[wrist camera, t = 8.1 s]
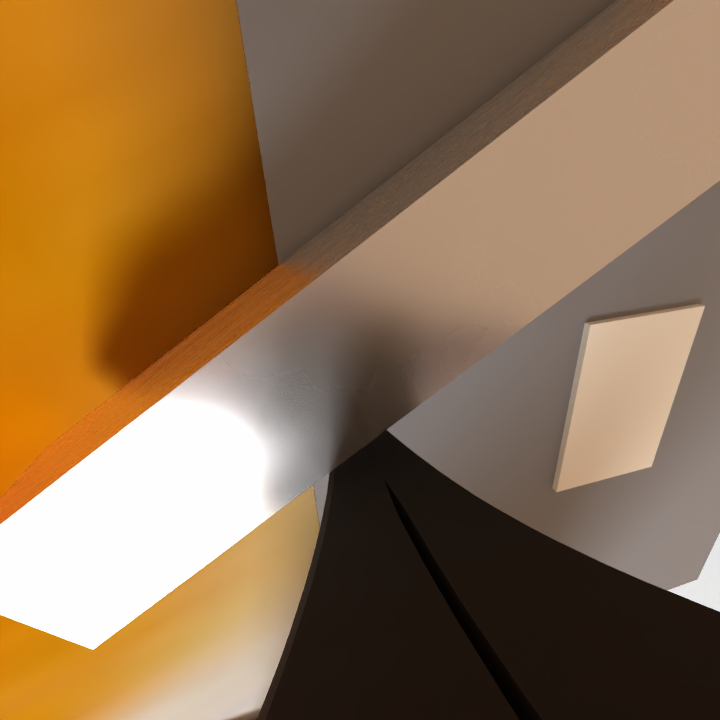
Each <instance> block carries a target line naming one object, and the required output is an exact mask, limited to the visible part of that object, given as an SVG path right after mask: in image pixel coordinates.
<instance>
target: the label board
mask: <svg viewBox="0 0 720 720" xmlns="http://www.w3.org/2000/svg"><path fill="white" fill-rule="evenodd" d="M615 1H616V0H236V4H237V10H238V17H239V23H240V29H241V36H242V42H243V48H244V54H245V61H246V67H247V73H248V80H249V86H250V92H251V98H252V105H253V111H254V117H255V123H256V130H257V136H258V142H259V149H260V155H261V161H262V167H263V174H264V180H265V186H266V192H267V199H268V205H269V211H270V218H271V224H272V230H273V236H274V243H275V249H276V255H277V262H278V265H280V264H281V263H282V262H283V261H285V260H286V259H287V258H288V257H290V256H291V255H292V254H294V253H295V252H296V251H297V250H299V249H300V248H301V247H303V246H304V245H305V244H306V243H308V242H309V241H310V240H311V239H313V238H314V237H315V236H317V235H318V234H319V233H320V232H322V231H323V230H324V229H325V228H327V227H328V226H329V225H331V224H332V223H333V222H334V221H336V220H337V219H338V218H339V217H341V216H342V215H343V214H345V213H346V212H347V211H348V210H350V209H351V208H352V207H353V206H355V205H356V204H357V203H359V202H360V201H361V200H362V199H364V198H365V197H366V196H367V195H369V194H370V193H371V192H373V191H374V190H375V189H376V188H378V187H379V186H380V185H382V184H383V183H384V182H385V181H387V180H388V179H389V178H390V177H392V176H393V175H394V174H396V173H397V172H398V171H399V170H401V169H402V168H403V167H404V166H406V165H407V164H408V163H410V162H411V161H412V160H413V159H415V158H416V157H417V156H418V155H420V154H421V153H422V152H424V151H425V150H426V149H427V148H429V147H430V146H431V145H432V144H434V143H435V142H436V141H438V140H439V139H440V138H441V137H443V136H444V135H445V134H446V133H448V132H449V131H450V130H452V129H453V128H454V127H455V126H457V125H458V124H459V123H461V122H462V121H463V120H464V119H466V118H467V117H468V116H469V115H471V114H472V113H473V112H475V111H476V110H477V109H478V108H480V107H481V106H482V105H483V104H485V103H486V102H487V101H489V100H490V99H491V98H492V97H494V96H495V95H496V94H497V93H499V92H500V91H501V90H503V89H504V88H505V87H506V86H508V85H509V84H510V83H511V82H513V81H514V80H515V79H517V78H518V77H519V76H520V75H522V74H523V73H524V72H525V71H527V70H528V69H529V68H531V67H532V66H533V65H534V64H536V63H537V62H538V61H539V60H541V59H542V58H543V57H545V56H546V55H547V54H548V53H550V52H551V51H552V50H554V49H555V48H556V47H557V46H559V45H560V44H561V43H562V42H564V41H565V40H566V39H568V38H569V37H570V36H571V35H573V34H574V33H575V32H576V31H578V30H579V29H580V28H582V27H583V26H584V25H585V24H587V23H588V22H589V21H590V20H592V19H593V18H594V17H596V16H597V15H598V14H599V13H601V12H602V11H603V10H604V9H606V8H607V7H608V6H610V5H611V4H612V3H613V2H615ZM387 430H388V431H389V432H390V433H391V434H392V435H394V436H395V437H396V438H397V439H398V440H400V441H401V442H402V443H403V444H405V445H406V446H407V447H408V448H409V449H411V450H412V451H413V452H415V453H416V454H417V455H418V456H420V457H421V458H422V459H424V460H425V461H426V462H428V463H429V464H431V465H432V466H433V467H435V468H436V469H437V470H439V471H440V472H441V473H443V474H444V475H446V476H447V477H448V478H450V479H451V480H453V481H454V482H456V483H457V484H459V485H460V486H462V487H463V488H465V489H466V490H468V491H469V492H471V493H472V494H474V495H475V496H477V497H479V498H480V499H482V500H484V501H485V502H487V503H488V504H490V505H492V506H493V507H495V508H497V509H499V510H501V511H502V512H504V513H506V514H508V515H509V516H511V517H513V518H515V519H517V520H518V521H520V522H522V523H524V524H525V525H527V526H529V527H531V528H533V529H535V530H537V531H539V532H541V533H542V534H544V535H546V536H548V537H550V538H552V539H554V540H556V541H558V542H560V543H562V544H565V545H567V546H569V547H571V548H573V549H575V550H577V551H579V552H581V553H583V554H585V555H587V556H590V557H592V558H594V559H596V560H598V561H600V562H602V563H604V564H606V565H609V566H611V567H613V568H615V569H618V570H620V571H622V572H625V573H627V574H629V575H631V576H634V577H636V578H638V579H640V580H643V581H645V582H647V583H650V584H652V585H655V586H657V587H660V588H662V589H665V590H669V589H672V588H674V587H677V586H680V585H683V584H686V583H688V582H691V581H694V580H697V579H698V577H699V575H700V573H701V570H702V568H703V566H704V564H705V562H706V560H707V558H708V556H709V554H710V552H711V549H712V547H713V545H714V543H715V541H716V539H717V537H718V535H719V533H720V181H718V182H717V183H716V184H714V185H713V186H712V187H710V188H709V189H708V190H706V191H705V192H704V193H702V194H701V195H700V196H698V197H697V198H696V199H694V200H693V201H692V202H690V203H689V204H688V205H686V206H685V207H684V208H682V209H681V210H680V211H678V212H677V213H676V214H674V215H673V216H672V217H670V218H669V219H668V220H666V221H665V222H664V223H662V224H661V225H660V226H658V227H657V228H656V229H654V230H653V231H652V232H650V233H649V234H648V235H646V236H645V237H644V238H642V239H641V240H640V241H638V242H637V243H635V244H634V245H633V246H631V247H630V248H629V249H627V250H626V251H625V252H623V253H622V254H621V255H619V256H618V257H617V258H615V259H614V260H613V261H611V262H610V263H609V264H607V265H606V266H605V267H603V268H602V269H601V270H599V271H598V272H597V273H595V274H594V275H593V276H591V277H590V278H589V279H587V280H586V281H585V282H583V283H582V284H581V285H579V286H578V287H577V288H575V289H574V290H573V291H571V292H570V293H569V294H567V295H566V296H565V297H563V298H562V299H561V300H559V301H558V302H557V303H555V304H554V305H553V306H551V307H550V308H549V309H547V310H546V311H545V312H543V313H542V314H541V315H539V316H538V317H537V318H535V319H534V320H533V321H531V322H530V323H529V324H527V325H526V326H525V327H523V328H522V329H520V330H519V331H518V332H516V333H515V334H514V335H512V336H511V337H510V338H508V339H507V340H506V341H504V342H503V343H502V344H500V345H499V346H498V347H496V348H495V349H494V350H492V351H491V352H490V353H488V354H487V355H486V356H484V357H483V358H482V359H480V360H479V361H478V362H476V363H475V364H474V365H472V366H471V367H470V368H468V369H467V370H466V371H464V372H463V373H462V374H460V375H459V376H458V377H456V378H455V379H454V380H452V381H451V382H450V383H448V384H447V385H446V386H444V387H443V388H442V389H440V390H439V391H438V392H436V393H435V394H434V395H432V396H431V397H430V398H428V399H427V400H426V401H424V402H423V403H422V404H420V405H419V406H418V407H416V408H415V409H414V410H412V411H411V412H410V413H408V414H407V415H406V416H404V417H403V418H401V419H400V420H399V421H397V422H396V423H395V424H393V425H392V426H391V427H389V428H388V429H387ZM328 480H329V473H328V474H327V475H325V476H324V477H323V478H321V479H320V480H319V481H317V482H316V483H315V484H313V487H314V494H315V500H316V506H317V513H318V519H319V525H320V526H321V521H322V516H323V511H324V506H325V501H326V495H327V488H328Z"/></svg>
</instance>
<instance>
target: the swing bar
mask: <svg viewBox="0 0 720 720" xmlns="http://www.w3.org/2000/svg"><path fill="white" fill-rule="evenodd" d="M718 181H720V0H616V1H615V2H613V3H612V4H611V5H610V6H608V7H607V8H606V9H604V10H603V11H602V12H601V13H599V14H598V15H597V16H596V17H594V18H593V19H592V20H590V21H589V22H588V23H587V24H585V25H584V26H583V27H582V28H580V29H579V30H578V31H576V32H575V33H574V34H573V35H571V36H570V37H569V38H568V39H566V40H565V41H564V42H562V43H561V44H560V45H559V46H557V47H556V48H555V49H554V50H552V51H551V52H550V53H548V54H547V55H546V56H545V57H543V58H542V59H541V60H539V61H538V62H537V63H536V64H534V65H533V66H532V67H531V68H529V69H528V70H527V71H525V72H524V73H523V74H522V75H520V76H519V77H518V78H517V79H515V80H514V81H513V82H511V83H510V84H509V85H508V86H506V87H505V88H504V89H503V90H501V91H500V92H499V93H497V94H496V95H495V96H494V97H492V98H491V99H490V100H489V101H487V102H486V103H485V104H483V105H482V106H481V107H480V108H478V109H477V110H476V111H475V112H473V113H472V114H471V115H469V116H468V117H467V118H466V119H464V120H463V121H462V122H461V123H459V124H458V125H457V126H455V127H454V128H453V129H452V130H450V131H449V132H448V133H446V134H445V135H444V136H443V137H441V138H440V139H439V140H438V141H436V142H435V143H434V144H432V145H431V146H430V147H429V148H427V149H426V150H425V151H424V152H422V153H421V154H420V155H418V156H417V157H416V158H415V159H413V160H412V161H411V162H410V163H408V164H407V165H406V166H404V167H403V168H402V169H401V170H399V171H398V172H397V173H396V174H394V175H393V176H392V177H390V178H389V179H388V180H387V181H385V182H384V183H383V184H382V185H380V186H379V187H378V188H376V189H375V190H374V191H373V192H371V193H370V194H369V195H367V196H366V197H365V198H364V199H362V200H361V201H360V202H359V203H357V204H356V205H355V206H353V207H352V208H351V209H350V210H348V211H347V212H346V213H345V214H343V215H342V216H341V217H339V218H338V219H337V220H336V221H334V222H333V223H332V224H331V225H329V226H328V227H327V228H325V229H324V230H323V231H322V232H320V233H319V234H318V235H317V236H315V237H314V238H313V239H311V240H310V241H309V242H308V243H306V244H305V245H304V246H303V247H301V248H300V249H299V250H297V251H296V252H295V253H294V254H292V255H291V256H290V257H288V258H287V259H286V260H285V261H283V262H282V263H281V264H280V265H278V266H277V267H276V268H274V269H273V270H272V271H271V272H269V273H268V274H267V275H266V276H264V277H263V278H262V279H260V280H259V281H258V282H257V283H255V284H254V285H253V286H252V287H250V288H249V289H248V290H246V291H245V292H244V293H243V294H241V295H240V296H239V297H238V298H236V299H235V300H234V301H232V302H231V303H230V304H229V305H227V306H226V307H225V308H224V309H222V310H221V311H220V312H218V313H217V314H216V315H215V316H213V317H212V318H211V319H210V320H208V321H207V322H206V323H204V324H203V325H202V326H201V327H199V328H198V329H197V330H195V331H194V332H193V333H192V334H190V335H189V336H188V337H187V338H185V339H184V340H183V341H181V342H180V343H179V344H178V345H176V346H175V347H174V348H173V349H171V350H170V351H169V352H167V353H166V354H165V355H164V356H162V357H161V358H160V359H159V360H157V361H156V362H155V363H153V364H152V365H151V366H150V367H148V368H147V369H146V370H145V371H143V372H142V373H141V374H139V375H138V376H137V377H136V378H134V379H133V380H132V381H131V382H129V383H128V384H127V385H125V386H124V387H123V388H122V389H120V390H119V391H118V392H116V393H115V394H114V395H113V396H111V397H110V398H109V399H108V400H106V401H105V402H104V403H102V404H101V405H100V406H99V407H97V408H96V409H95V410H94V411H92V412H91V413H90V414H88V415H87V416H86V417H85V418H83V419H82V420H81V421H80V422H78V423H77V424H76V425H74V426H73V427H72V428H71V429H69V430H68V431H67V432H66V433H64V434H63V435H62V436H60V437H59V438H58V439H57V440H55V441H54V442H53V443H52V444H50V445H49V446H48V447H46V448H45V450H44V451H43V452H42V453H41V454H40V455H39V456H38V457H37V458H36V460H35V461H34V462H33V463H32V464H31V465H30V466H29V467H28V468H27V470H26V471H25V472H24V473H23V474H22V475H21V476H20V477H19V478H18V480H17V481H16V482H15V483H14V484H13V485H12V486H11V487H10V488H9V490H8V491H7V492H6V493H5V494H4V495H3V496H2V497H1V498H0V614H1V615H3V616H6V617H8V618H11V619H14V620H16V621H19V622H22V623H24V624H27V625H30V626H32V627H35V628H38V629H40V630H43V631H46V632H48V633H51V634H54V635H56V636H59V637H62V638H64V639H67V640H70V641H72V642H75V643H78V644H80V645H83V646H85V647H88V648H91V649H94V648H95V647H97V646H98V645H99V644H101V643H102V642H103V641H105V640H106V639H107V638H109V637H110V636H111V635H113V634H114V633H115V632H117V631H118V630H119V629H121V628H122V627H123V626H125V625H126V624H127V623H129V622H130V621H131V620H133V619H134V618H135V617H137V616H138V615H139V614H141V613H142V612H143V611H145V610H146V609H147V608H149V607H150V606H151V605H153V604H154V603H155V602H157V601H158V600H159V599H161V598H162V597H163V596H165V595H166V594H167V593H169V592H170V591H171V590H173V589H174V588H176V587H177V586H178V585H180V584H181V583H182V582H184V581H185V580H186V579H188V578H189V577H190V576H192V575H193V574H194V573H196V572H197V571H198V570H200V569H201V568H202V567H204V566H205V565H206V564H208V563H209V562H210V561H212V560H213V559H214V558H216V557H217V556H218V555H220V554H221V553H222V552H224V551H225V550H226V549H228V548H229V547H230V546H232V545H233V544H234V543H236V542H237V541H238V540H240V539H241V538H242V537H244V536H245V535H246V534H248V533H249V532H250V531H252V530H253V529H254V528H256V527H257V526H258V525H260V524H261V523H262V522H264V521H265V520H266V519H268V518H269V517H270V516H272V515H273V514H274V513H276V512H277V511H278V510H280V509H281V508H282V507H284V506H285V505H286V504H288V503H289V502H291V501H292V500H293V499H295V498H296V497H297V496H299V495H300V494H301V493H303V492H304V491H305V490H307V489H308V488H309V487H311V486H312V485H313V484H315V483H316V482H317V481H319V480H320V479H321V478H323V477H324V476H325V475H327V474H328V473H329V472H331V471H332V470H333V469H335V468H336V467H337V466H339V465H340V464H341V463H343V462H344V461H345V460H347V459H348V458H349V457H351V456H352V455H353V454H355V453H356V452H357V451H359V450H360V449H361V448H363V447H364V446H365V445H367V444H368V443H369V442H371V441H372V440H373V439H375V438H376V437H377V436H379V435H380V434H381V433H383V432H384V431H385V430H387V429H388V428H389V427H391V426H392V425H393V424H395V423H396V422H397V421H399V420H400V419H401V418H403V417H404V416H406V415H407V414H408V413H410V412H411V411H412V410H414V409H415V408H416V407H418V406H419V405H420V404H422V403H423V402H424V401H426V400H427V399H428V398H430V397H431V396H432V395H434V394H435V393H436V392H438V391H439V390H440V389H442V388H443V387H444V386H446V385H447V384H448V383H450V382H451V381H452V380H454V379H455V378H456V377H458V376H459V375H460V374H462V373H463V372H464V371H466V370H467V369H468V368H470V367H471V366H472V365H474V364H475V363H476V362H478V361H479V360H480V359H482V358H483V357H484V356H486V355H487V354H488V353H490V352H491V351H492V350H494V349H495V348H496V347H498V346H499V345H500V344H502V343H503V342H504V341H506V340H507V339H508V338H510V337H511V336H512V335H514V334H515V333H516V332H518V331H519V330H520V329H522V328H523V327H525V326H526V325H527V324H529V323H530V322H531V321H533V320H534V319H535V318H537V317H538V316H539V315H541V314H542V313H543V312H545V311H546V310H547V309H549V308H550V307H551V306H553V305H554V304H555V303H557V302H558V301H559V300H561V299H562V298H563V297H565V296H566V295H567V294H569V293H570V292H571V291H573V290H574V289H575V288H577V287H578V286H579V285H581V284H582V283H583V282H585V281H586V280H587V279H589V278H590V277H591V276H593V275H594V274H595V273H597V272H598V271H599V270H601V269H602V268H603V267H605V266H606V265H607V264H609V263H610V262H611V261H613V260H614V259H615V258H617V257H618V256H619V255H621V254H622V253H623V252H625V251H626V250H627V249H629V248H630V247H631V246H633V245H634V244H635V243H637V242H638V241H640V240H641V239H642V238H644V237H645V236H646V235H648V234H649V233H650V232H652V231H653V230H654V229H656V228H657V227H658V226H660V225H661V224H662V223H664V222H665V221H666V220H668V219H669V218H670V217H672V216H673V215H674V214H676V213H677V212H678V211H680V210H681V209H682V208H684V207H685V206H686V205H688V204H689V203H690V202H692V201H693V200H694V199H696V198H697V197H698V196H700V195H701V194H702V193H704V192H705V191H706V190H708V189H709V188H710V187H712V186H713V185H714V184H716V183H717V182H718Z"/></svg>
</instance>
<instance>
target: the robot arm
mask: <svg viewBox="0 0 720 720" xmlns="http://www.w3.org/2000/svg"><path fill="white" fill-rule="evenodd" d="M257 720H720V612H719V611H716V610H714V609H711V608H708V607H706V606H703V605H701V604H699V603H696V602H694V601H691V600H689V599H686V598H684V597H682V596H679V595H677V594H674V593H672V592H669V591H667V590H665V589H662V588H660V587H657V586H655V585H652V584H650V583H647V582H645V581H643V580H640V579H638V578H636V577H634V576H631V575H629V574H627V573H625V572H622V571H620V570H618V569H615V568H613V567H611V566H609V565H606V564H604V563H602V562H600V561H598V560H596V559H594V558H592V557H590V556H587V555H585V554H583V553H581V552H579V551H577V550H575V549H573V548H571V547H569V546H567V545H565V544H562V543H560V542H558V541H556V540H554V539H552V538H550V537H548V536H546V535H544V534H542V533H541V532H539V531H537V530H535V529H533V528H531V527H529V526H527V525H525V524H524V523H522V522H520V521H518V520H517V519H515V518H513V517H511V516H509V515H508V514H506V513H504V512H502V511H501V510H499V509H497V508H495V507H493V506H492V505H490V504H488V503H487V502H485V501H484V500H482V499H480V498H479V497H477V496H475V495H474V494H472V493H471V492H469V491H468V490H466V489H465V488H463V487H462V486H460V485H459V484H457V483H456V482H454V481H453V480H451V479H450V478H448V477H447V476H446V475H444V474H443V473H441V472H440V471H439V470H437V469H436V468H435V467H433V466H432V465H431V464H429V463H428V462H426V461H425V460H424V459H422V458H421V457H420V456H418V455H417V454H416V453H415V452H413V451H412V450H411V449H409V448H408V447H407V446H406V445H405V444H403V443H402V442H401V441H400V440H398V439H397V438H396V437H395V436H394V435H392V434H391V433H390V432H389V431H388V430H385V431H384V432H383V433H381V434H380V435H379V436H377V437H376V438H375V439H373V440H372V441H371V442H369V443H368V444H367V445H365V446H364V447H363V448H361V449H360V450H359V451H357V452H356V453H355V454H353V455H352V456H351V457H349V458H348V459H347V460H345V461H344V462H343V463H341V464H340V465H339V466H337V467H336V468H335V469H333V470H332V471H331V472H329V480H328V488H327V495H326V501H325V506H324V511H323V516H322V521H321V526H320V531H319V535H318V539H317V544H316V548H315V551H314V555H313V559H312V563H311V566H310V570H309V573H308V577H307V580H306V584H305V587H304V590H303V594H302V597H301V600H300V603H299V606H298V609H297V612H296V615H295V618H294V621H293V624H292V628H291V631H290V634H289V636H288V639H287V642H286V645H285V648H284V651H283V654H282V656H281V659H280V662H279V665H278V667H277V670H276V673H275V675H274V678H273V680H272V683H271V685H270V688H269V691H268V693H267V696H266V698H265V701H264V703H263V706H262V708H261V711H260V714H259V716H258V719H257Z"/></svg>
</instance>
